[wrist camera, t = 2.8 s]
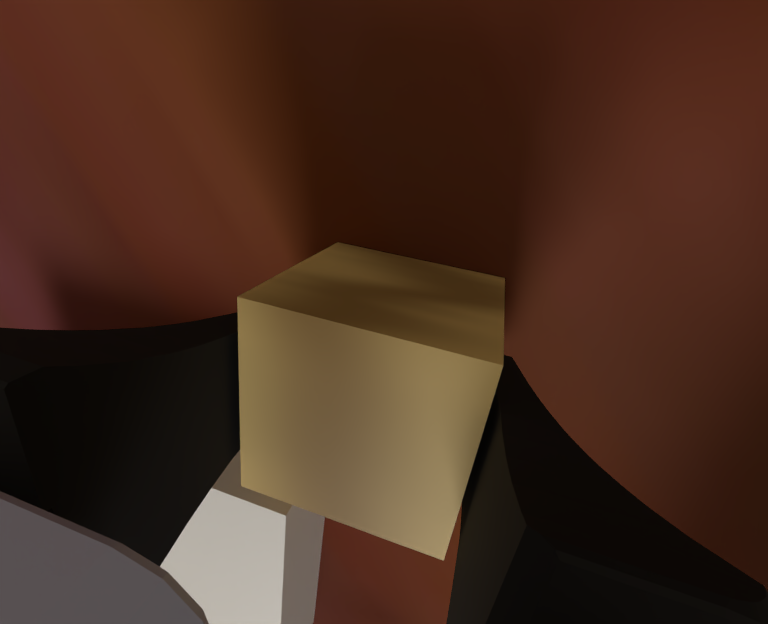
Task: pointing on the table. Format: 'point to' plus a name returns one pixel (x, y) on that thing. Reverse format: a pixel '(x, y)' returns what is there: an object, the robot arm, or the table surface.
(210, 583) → the base block
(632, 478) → the table surface
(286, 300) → the ochre cube
